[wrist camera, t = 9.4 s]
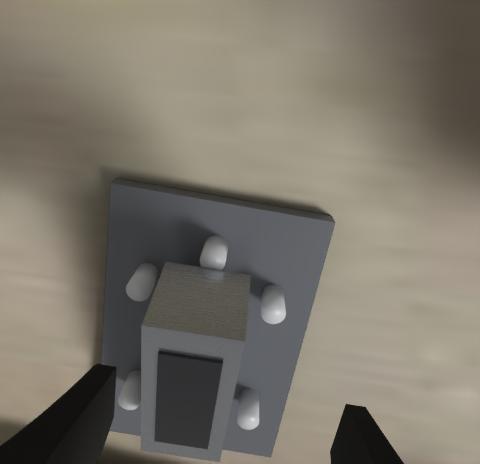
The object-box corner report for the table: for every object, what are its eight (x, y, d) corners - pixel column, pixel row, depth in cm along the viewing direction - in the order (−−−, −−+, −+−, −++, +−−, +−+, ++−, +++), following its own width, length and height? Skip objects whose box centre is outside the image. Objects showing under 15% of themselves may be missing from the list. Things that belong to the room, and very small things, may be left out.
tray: (331, 215, 20) (342, 236, 18) (270, 443, 26) (271, 484, 24) (117, 178, 20) (96, 193, 18) (103, 416, 26) (86, 454, 23)
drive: (250, 275, 19) (245, 344, 15) (227, 392, 24) (219, 465, 20) (165, 261, 19) (140, 328, 15) (160, 381, 24) (139, 453, 20)
